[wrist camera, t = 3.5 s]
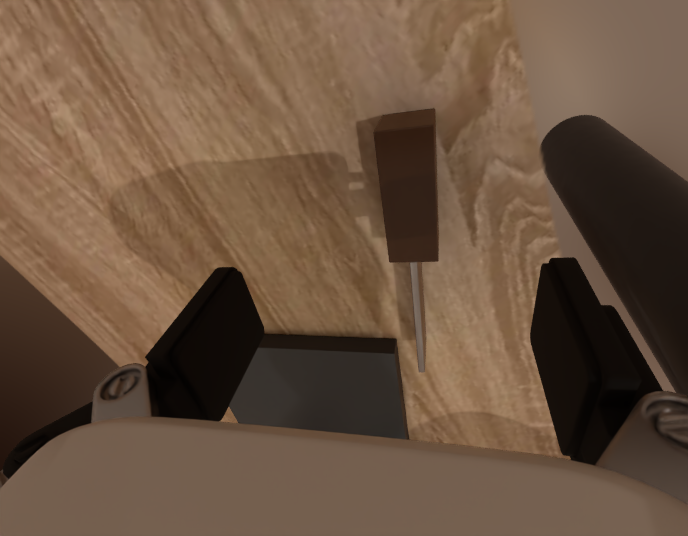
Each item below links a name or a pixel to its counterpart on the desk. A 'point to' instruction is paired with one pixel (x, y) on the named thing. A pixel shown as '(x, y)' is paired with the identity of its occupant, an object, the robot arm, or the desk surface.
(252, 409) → the board
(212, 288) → the robot arm
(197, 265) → the desk surface
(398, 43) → the desk surface
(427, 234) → the knife
